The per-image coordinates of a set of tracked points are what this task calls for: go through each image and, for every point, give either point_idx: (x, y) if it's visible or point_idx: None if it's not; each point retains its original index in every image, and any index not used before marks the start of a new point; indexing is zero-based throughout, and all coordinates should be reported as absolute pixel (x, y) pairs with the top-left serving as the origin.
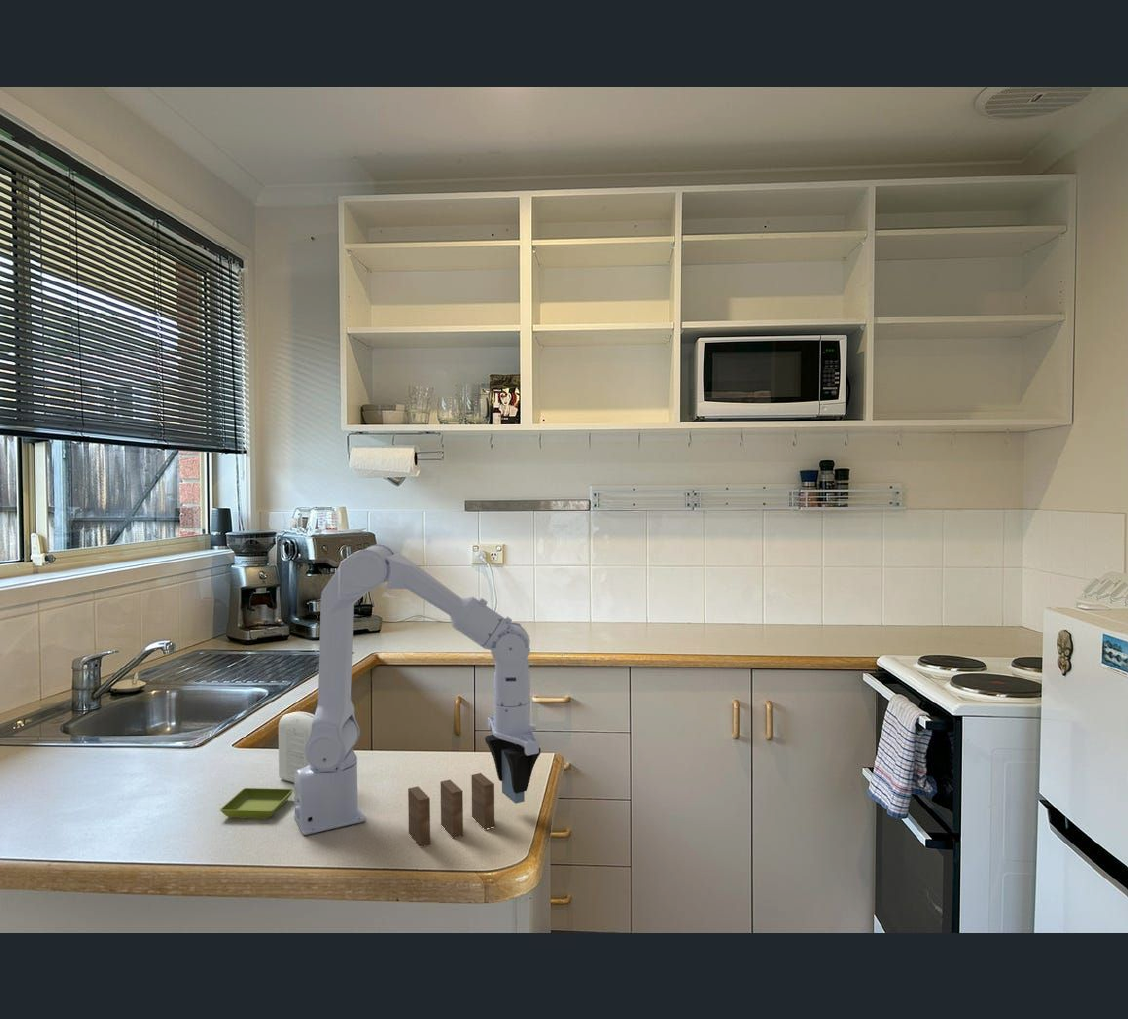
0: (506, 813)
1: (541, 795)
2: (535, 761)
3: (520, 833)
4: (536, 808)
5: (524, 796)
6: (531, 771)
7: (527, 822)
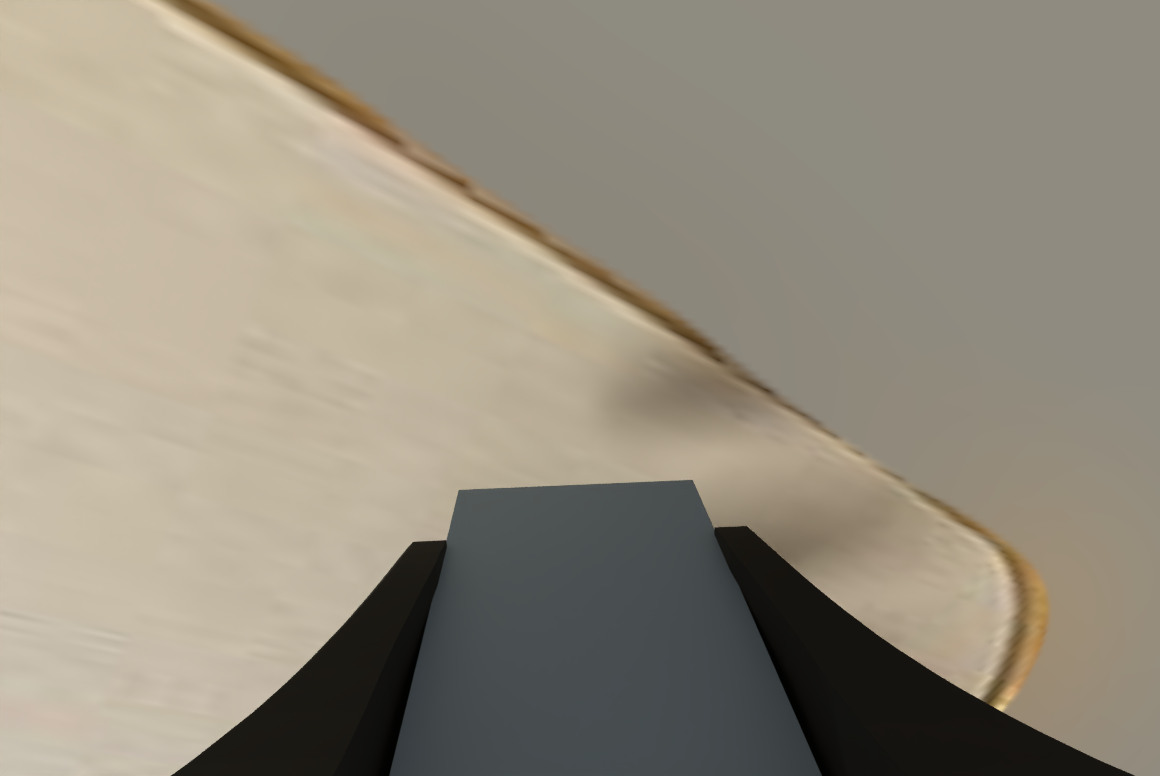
0: (526, 473)
1: (355, 148)
2: (1011, 719)
3: (790, 497)
4: (551, 286)
5: (701, 500)
6: (869, 630)
7: (699, 417)
